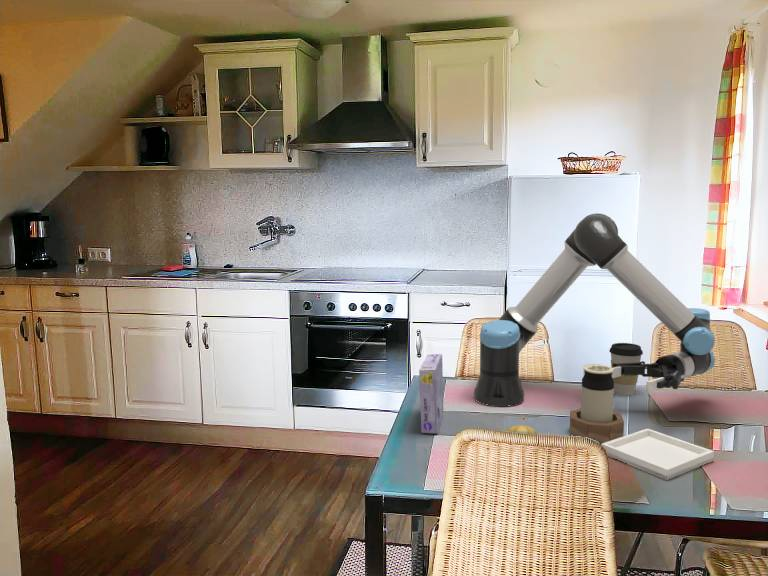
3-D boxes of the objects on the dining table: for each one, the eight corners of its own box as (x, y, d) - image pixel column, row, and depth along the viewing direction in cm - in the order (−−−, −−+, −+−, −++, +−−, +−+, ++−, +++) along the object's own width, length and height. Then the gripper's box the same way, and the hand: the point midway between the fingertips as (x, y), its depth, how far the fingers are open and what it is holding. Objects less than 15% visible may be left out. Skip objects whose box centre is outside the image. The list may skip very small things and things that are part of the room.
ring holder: (559, 432, 178) (560, 414, 177) (592, 422, 185) (593, 404, 184) (599, 447, 167) (600, 428, 166) (632, 436, 174) (633, 418, 173)
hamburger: (504, 473, 153) (504, 423, 151) (503, 460, 160) (504, 412, 158) (538, 475, 152) (539, 425, 150) (536, 462, 159) (538, 414, 157)
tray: (600, 453, 164) (601, 443, 163) (647, 437, 173) (647, 428, 173) (666, 480, 149) (667, 469, 148) (713, 461, 158) (714, 451, 158)
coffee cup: (643, 398, 204) (645, 350, 202) (609, 396, 206) (611, 349, 204) (638, 388, 213) (640, 342, 211) (605, 387, 215) (607, 341, 213)
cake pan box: (427, 410, 196) (427, 351, 193) (444, 411, 195) (445, 352, 192) (418, 434, 178) (418, 370, 175) (437, 435, 177) (437, 370, 174)
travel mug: (618, 438, 173) (621, 370, 170) (591, 441, 171) (594, 373, 168) (600, 427, 181) (602, 362, 178) (574, 430, 179) (576, 365, 176)
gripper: (714, 390, 181) (666, 406, 170) (635, 370, 202) (588, 383, 191) (715, 363, 180) (667, 377, 169) (636, 346, 201) (588, 357, 189)
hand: (625, 380), depth 180 cm, fingers open, 13 cm apart
